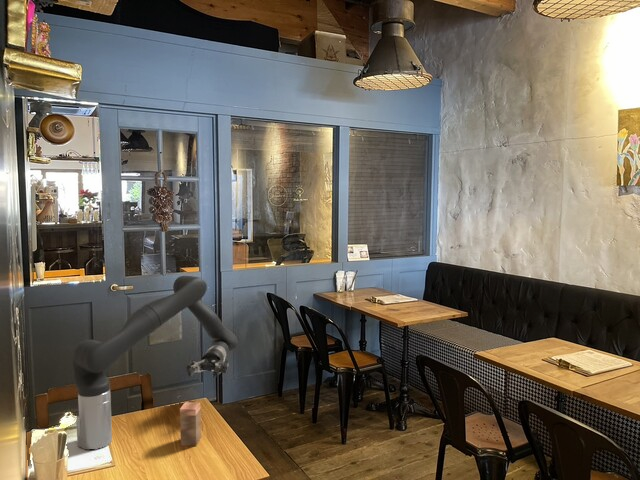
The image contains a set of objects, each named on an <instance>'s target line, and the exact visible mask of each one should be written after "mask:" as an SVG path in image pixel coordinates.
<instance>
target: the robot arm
mask: <svg viewBox="0 0 640 480" xmlns="http://www.w3.org/2000/svg"><path fill="white" fill-rule="evenodd" d="M207 285H208V284H207V282H206V281H205V279H204V278H201V277H198V276H192V275H181V276H178V277H177V278H176V279H175V280H174V283H173V286H172V289H173V290H172V291H173V293H171V294H170V295H167V296H164V297H161V298H158V299H156V300H152V301H150V302H148V303H146V304H144V305H143V306H142V307H140V308H138V309H136V311H135V310H134V312H133V313H131V314H130V315H129V316H128V318H127V320H126V322H125V323H124V325H123V326H122V328H121V329H120V330H119V331H118V332H117V333H115V334H114V335H112V336H111V337H110V338H107V339H106V340H104V341H98V340H94V339H84V340H82V341H80V342H79V343H78V344H77V345H76V346H75V349H74V350H73V354H72V371H73V379H74V385H75V386H76V388H77V398H78V399H77V401H78V402H77V403H78V416H77V417H76V418H75V420H76V421H75V422H76V442H77V443H76V444H77V448H82V449H83V450H85V449H95V450H99V449H98V448H100V449H102V447H103V448H105V447H107V446H108V445H110V444H111V443H112V442H113V429H112V428H113V427H112V405H111V402H112V401H111V400H112V398H111V384H110V382H111V381H110V379H109V378H108V376H107V375H106V374H105V372H104V371H106V370H107V369H109V368H110V367H111V366H113V365H114V364H115V363H116V362H117V361H118V360H120V358H122V357H123V355H124V354H126V353H127V352H129V350H130V349H132V348H133V347H134V346H137V344H139V343H140V342H141V341H142V340H144V339H145V338H146V337H148V336H149V335H151V334H152V333H154V332H155V331H156V330H158V329H159V328H160V327H161V326H163V325H164V324H165V323H166V322H168V321H169V320H171V319H172V318H174V317H175V316H176V315H178V314H179V313H180V312H182V311H184V310H185V309H188V310H189V311H190V312H191V313H192V314H193V316H194V317H195V318H196V319H197V321H198V322H199V323H200V325H201V326H202V328H203V329H204V330H205V332H206V334H207V335H208V337H209V338H210V339H211V340H212V341H211V347H209V348H208V349H207V350H206V352H205V353H204V354H203V355H202V357H201V360H199V361H197V362H196V361H195V359H191V360H190V361H189V362H188V363H187V364H186V365H185V366H186V369H185V370H186V373H187V375H188V377H190V378H191V377H193V375H194V374H195V373H202V372H211V373H212V372H213V373H212V374H213V378H216V377H218V376H219V375H220V374H221V373H222V374H226V373H227V371H228V370H229V360H226V358H227V357H228V355H229V352H231V351H234V350H236V349H237V348H238V346H239V345H238V344H239V341H238V338H237V335H235V333H233V331H231V330H230V329H228V328H227V327H226V326H225V325H224V323H223V322H222V321H221V319H220V318H219V316H218V315H217V313H216V312H214V311H213V309H211V308H210V307H209V306H208V305H207V304H205V303H204V301H203V300H202V298H203V297H204V296H205V294H206V292H207V290H208V286H207ZM104 446H105V447H104Z"/></svg>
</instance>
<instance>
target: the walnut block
mask: <svg viewBox="0 0 640 480" xmlns="http://www.w3.org/2000/svg"><path fill="white" fill-rule="evenodd" d="M201 413H202V412H201V402H194V401H193V402H191V401H190V402H189V401H188V402H187V401H184V403H183V404H182V406H181V407H180V408H179V421H180V422H179V423H180V426H179V429H180V431H179V432H180V446H183V447H184V446H186V447H197V446H198V444H199V442H200V440H201V439H202V426H201V425H202V424H201V423H202V422H201V421H202V420H201V417H202V415H201Z"/></svg>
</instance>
